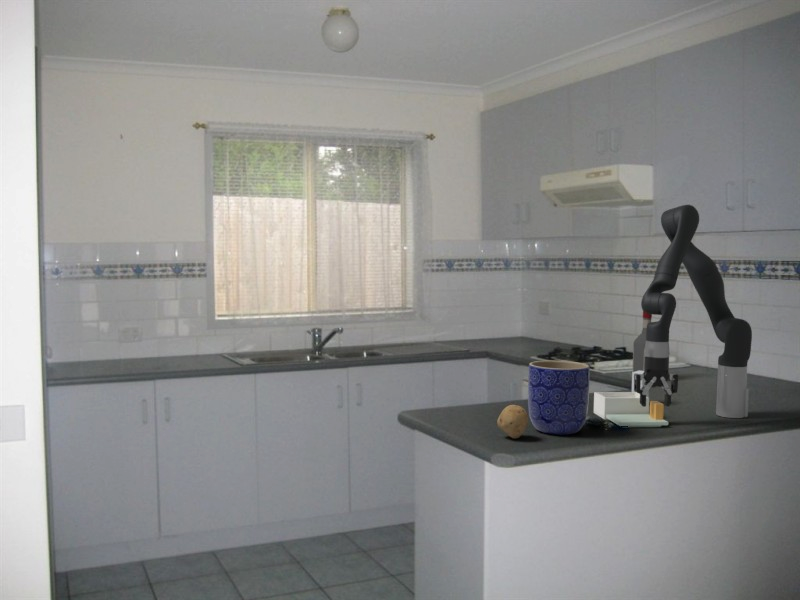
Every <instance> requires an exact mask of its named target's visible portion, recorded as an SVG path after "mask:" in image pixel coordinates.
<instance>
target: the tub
mask: <svg viewBox="0 0 800 600" xmlns="http://www.w3.org/2000/svg"><path fill="white" fill-rule="evenodd" d="M593 394H594V395H593V414H595V415H596V416H598V417H600V418H602V419H603V420H609V419H608V418H606V414H650V397H649V398H648V397H646V407H643V406H642V405H641V404H640V394H639V393H637V392H632V391H617V392H616V391H603V392H602V391H601V392H600V391H597V392H593Z"/></svg>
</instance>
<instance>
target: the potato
mask: <svg viewBox="0 0 800 600" xmlns="http://www.w3.org/2000/svg"><path fill="white" fill-rule="evenodd" d="M496 422H497V426H498V428H499V429H500V430H501V431H503V432H504V433H506V435H508V437H509V438H512V439H518V438H520V437H521V436H522V435H523V434H524V432H525V431H526V429H527V427H528V423H529V413H528V412H527V411H526V409H525V408H524V407H522V406H520V405H518V404H510V405H507V406H506V407H504V408H503V410H502V411H501V412H500V414H499V416H498V418H497V421H496Z"/></svg>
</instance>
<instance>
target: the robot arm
mask: <svg viewBox="0 0 800 600" xmlns="http://www.w3.org/2000/svg"><path fill="white" fill-rule="evenodd" d="M660 223H661V227H662V230H663V233H664V234H665V235H666V237H667V238H668V240H669V241H670V244H669V245H668V247H667V249H666V250H665V251H664V252H663V254H662V256H661V257H660V259H659V261H658V263H657V266H656V269H655V274H654V277H653V279H652V281H651V282H650V284H649V286H648V288H647V289H646V291H645V292H644V293H643V296H642V299H641V303H640V305H641V309H642V312H643V311H644V312H645V313H646V314H652V315H654V316H657V315H658V316H661V317H660V319H659V320H658V321H651V323H648V324H647V328H646V344H645V361H644V373H643V374H634V391H635V392H637V393H639V394H640V404H641V405H642V406H643V407H646V395H645V394H646V393H647V391H648V390H649V391H650V390H651V388H656V387H659V388H662V390H663V391H664V403H663V404H664V406H665V407H670V405H671V404H672V395H673V394H677V393H678V387H679V374H676V373H674V372H673V373H669V370H670V369H669V368H670V355H671V354H670V342H669V341H670V327H671V323H672V320H673V316H674V314H675V311H676V308H677V299H676V297H675V296H674V295H673V294H672V293H669V292H668V291H671V290H674V289H675V287H676V285H677V281H678V277H679V273H680V271H681V270H680V269H681V266H682V264H683V266H684V268H685V270H686V272H687V274H688V276H689V278H690V281H691V283H692V285H693V287H694V288H695V291H696V293H697V294H698V297H699V299H700V301H701V302H702V304H703V306H704V308H705V310H706V312H707V314H708V317H709V319H710V323H711V325H712V328H713V331H714V333H715V336H716V338H717V339H718V341H720V342H721V343H723V344H724V350H723V353H722V354H721V355H719V356H718V359H717V378H716V379H717V382H716V385H717V386H716V408H715V414H716V416H719V417H723V418H727V419H728V418H730V419H742V418H743V419H744V418H748V416H749V398H750V397H749V395H750V393H749V391H750V389H749V388H748V387H747V381H748V380H747V378H748V377H747V376H748V362H749V360H750V357H751V351H752V340H753V331H752V326H751V324H750V323H749V322H748V321H747V320H745V319H743V318H737V317H735V316H734V314H733V313H732V311H731V309H730V307H729V305H728V303H727V301H726V295H725V283H724V280H723V277H722V274H721V272H720V270H719V268H718V267H717V264H716V263H715V262H714V260H713V259H712V258H711V257H709V256H708V254H706V253H705V252H704V251H702V250H700V249H699V247H697V246H696V245H695V244H694V243H693V242H692V240H693V238H694V236H695V234H696V231H697V229H698V227H699V223H700V214H699V211H698V210H697V208H696V207H695V206H693V205H692V204H683V205H679V206H677V207H676V206H675V207H673V208H669V209H666V210H665V211H663V212H662V214H661V216H660ZM642 378H644V379H645V382H644V384H643V386H642V388H641V390H640V384H641V380H642ZM669 379H670V386H669V384H668V382H667V381H668V380H669Z"/></svg>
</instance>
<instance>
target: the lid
mask: <svg viewBox="0 0 800 600" xmlns="http://www.w3.org/2000/svg"><path fill="white" fill-rule="evenodd" d="M664 406H665V405H664V403H662V402H660V401H657V400H651V401H650V400H649V414H606V418H608V419H607V420H609V421H611V422H613V423H614V424H616V425H617V426H618V427H621V426H628V427H627V428H662V426H668V425H669V421H667V420H665V419H664V408H665V407H664Z"/></svg>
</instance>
